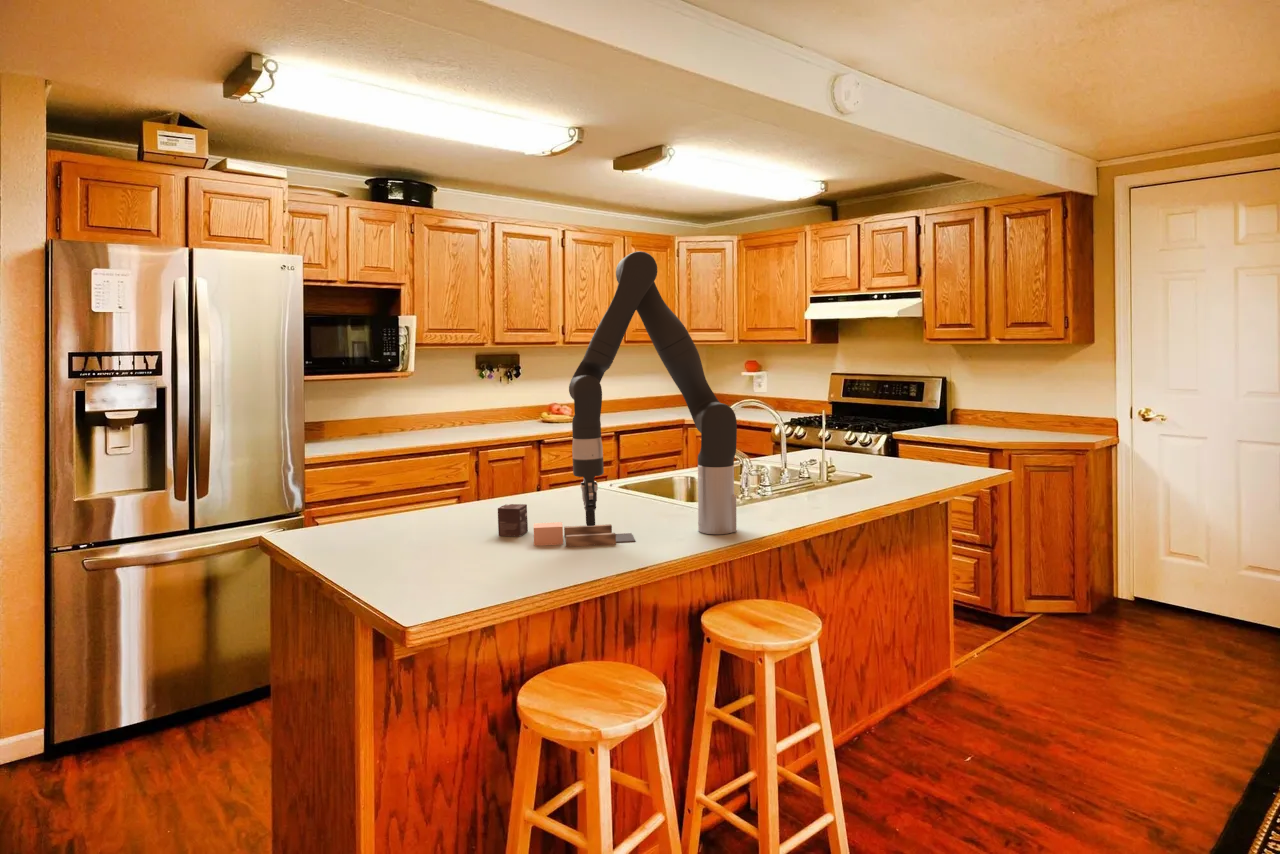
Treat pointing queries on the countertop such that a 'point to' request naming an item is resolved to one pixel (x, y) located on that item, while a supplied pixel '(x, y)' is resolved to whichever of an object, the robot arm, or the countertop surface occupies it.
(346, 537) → the countertop surface
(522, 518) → the box
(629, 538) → the mat
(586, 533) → the brown wooden channel
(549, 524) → the block
